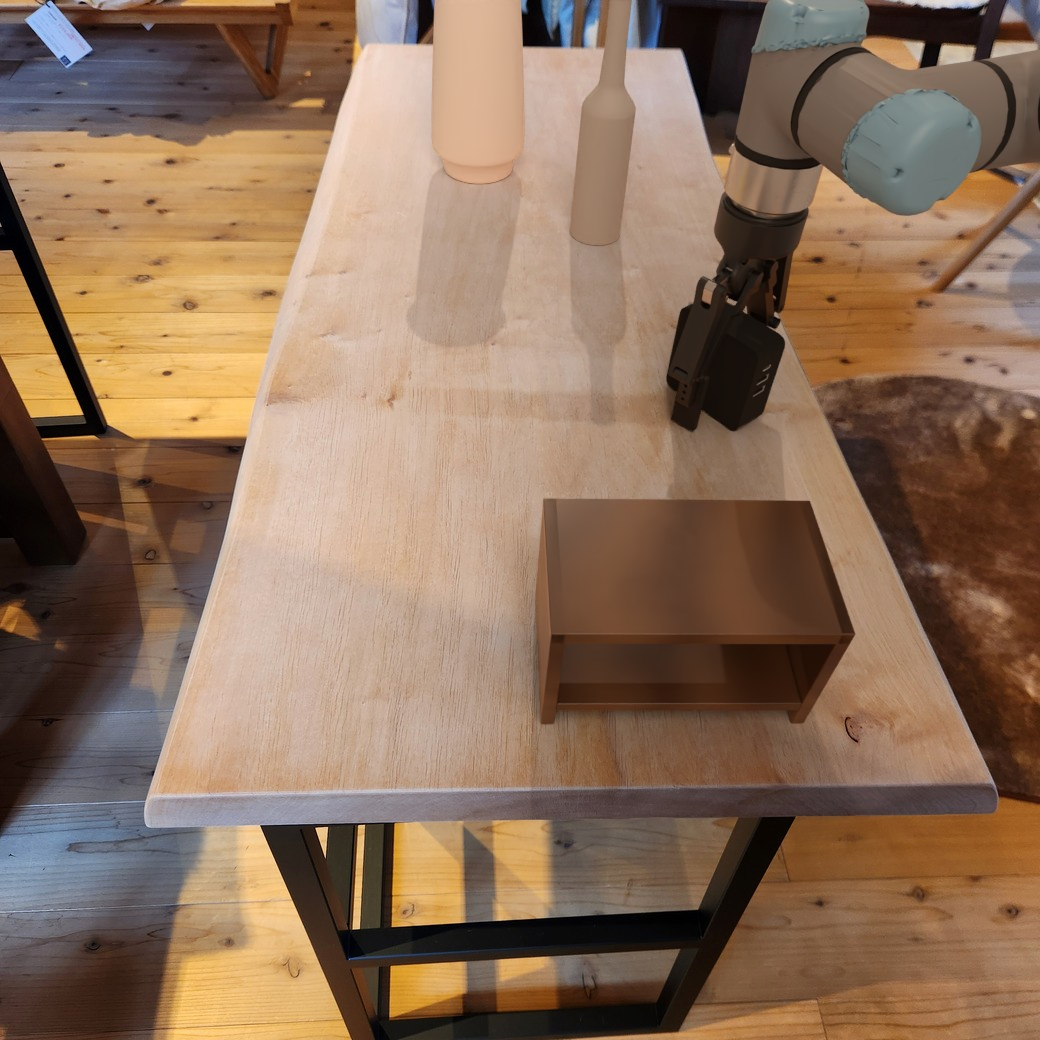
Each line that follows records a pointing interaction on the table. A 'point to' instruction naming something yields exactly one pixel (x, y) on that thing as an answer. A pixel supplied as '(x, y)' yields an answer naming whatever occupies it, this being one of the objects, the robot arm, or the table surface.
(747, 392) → the electronic device
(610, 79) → the bottle
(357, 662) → the table surface
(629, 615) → the shelf
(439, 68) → the vase
